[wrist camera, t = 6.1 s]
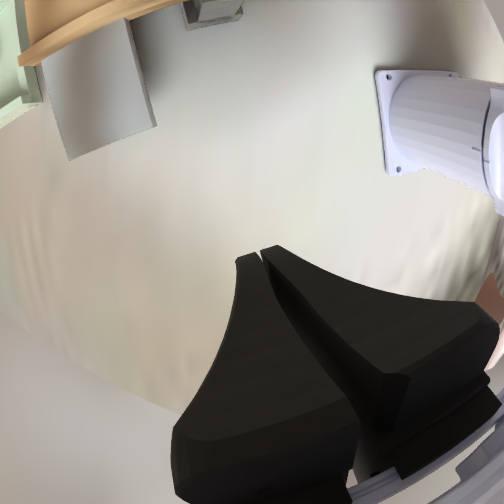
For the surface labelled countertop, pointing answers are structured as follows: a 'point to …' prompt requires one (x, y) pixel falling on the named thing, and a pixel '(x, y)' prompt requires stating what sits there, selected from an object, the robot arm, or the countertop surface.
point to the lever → (91, 68)
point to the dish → (15, 64)
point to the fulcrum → (210, 12)
